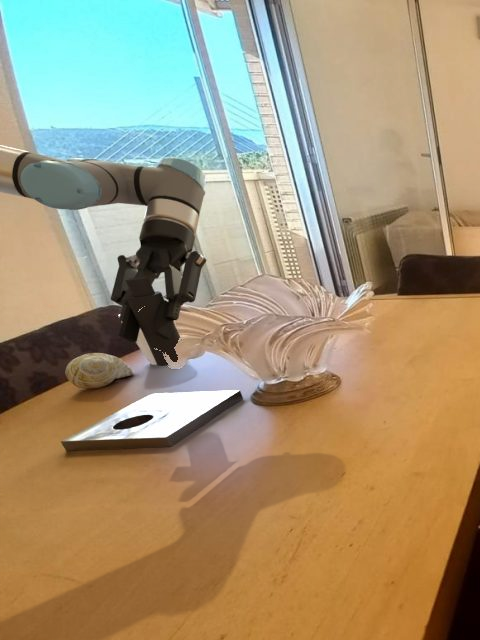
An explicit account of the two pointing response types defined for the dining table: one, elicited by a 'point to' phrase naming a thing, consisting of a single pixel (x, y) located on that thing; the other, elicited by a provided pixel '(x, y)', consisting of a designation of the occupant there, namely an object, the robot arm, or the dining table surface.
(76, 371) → the seashell
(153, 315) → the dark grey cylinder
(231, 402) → the plate
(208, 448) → the dining table surface
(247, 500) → the dining table surface
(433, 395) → the dining table surface
